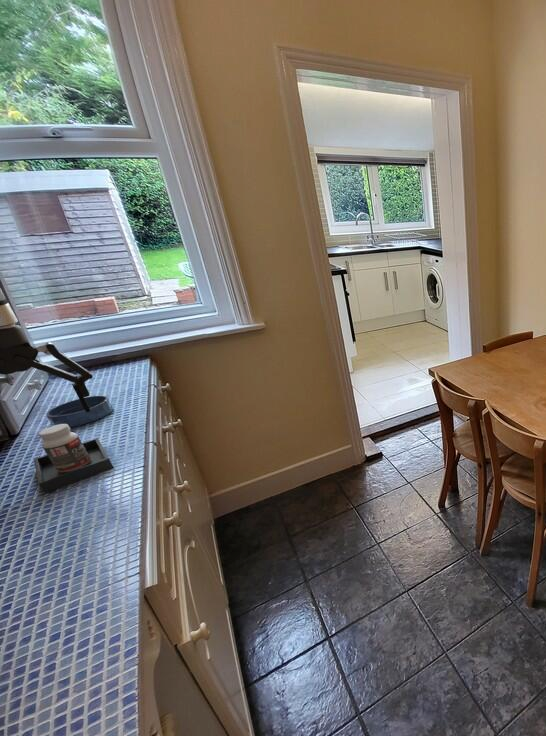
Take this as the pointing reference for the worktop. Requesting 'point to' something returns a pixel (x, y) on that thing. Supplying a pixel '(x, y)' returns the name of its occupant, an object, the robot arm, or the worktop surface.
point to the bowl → (80, 411)
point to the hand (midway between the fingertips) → (45, 422)
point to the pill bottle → (64, 448)
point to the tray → (55, 480)
